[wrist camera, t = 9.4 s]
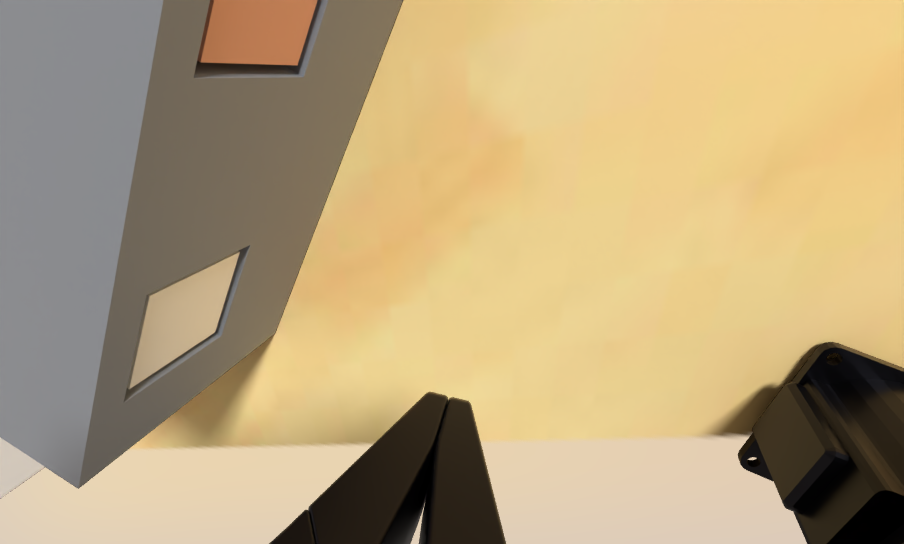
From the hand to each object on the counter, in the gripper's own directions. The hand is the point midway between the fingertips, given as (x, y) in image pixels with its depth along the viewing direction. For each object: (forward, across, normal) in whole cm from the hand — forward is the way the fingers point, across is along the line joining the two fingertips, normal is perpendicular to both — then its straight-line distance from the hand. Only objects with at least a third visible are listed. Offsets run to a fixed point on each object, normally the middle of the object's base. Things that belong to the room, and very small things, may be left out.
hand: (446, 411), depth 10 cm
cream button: (+7, +10, +4) cm, 13 cm away
